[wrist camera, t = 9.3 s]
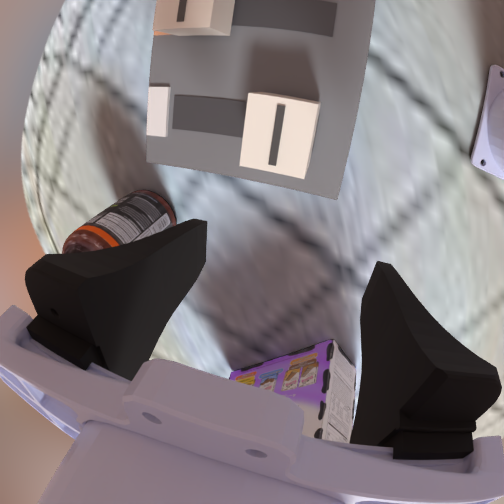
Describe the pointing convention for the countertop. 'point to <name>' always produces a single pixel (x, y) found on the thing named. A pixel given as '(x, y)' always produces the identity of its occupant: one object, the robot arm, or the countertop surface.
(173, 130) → the panel
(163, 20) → the knob
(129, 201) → the supplement bottle
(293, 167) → the knob
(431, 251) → the countertop surface
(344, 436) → the candy box
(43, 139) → the countertop surface
